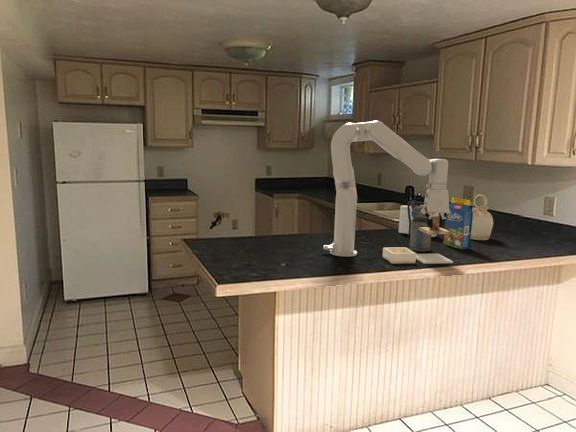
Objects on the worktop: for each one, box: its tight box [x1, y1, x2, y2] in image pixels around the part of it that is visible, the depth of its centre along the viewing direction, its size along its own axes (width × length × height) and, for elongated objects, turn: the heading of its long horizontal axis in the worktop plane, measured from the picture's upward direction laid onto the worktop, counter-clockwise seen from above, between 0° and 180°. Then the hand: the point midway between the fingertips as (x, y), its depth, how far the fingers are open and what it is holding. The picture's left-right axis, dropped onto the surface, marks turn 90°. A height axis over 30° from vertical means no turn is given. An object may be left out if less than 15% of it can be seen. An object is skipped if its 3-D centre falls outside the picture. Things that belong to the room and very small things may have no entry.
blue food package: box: [442, 197, 473, 250], centre depth 238 cm, size 6×12×25 cm, turn 28°
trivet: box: [416, 253, 454, 265], centre depth 212 cm, size 14×14×1 cm
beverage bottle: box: [406, 200, 434, 253], centre depth 228 cm, size 10×13×25 cm
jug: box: [471, 194, 494, 241], centre depth 261 cm, size 15×16×25 cm
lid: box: [418, 215, 451, 235], centre depth 209 cm, size 10×10×7 cm
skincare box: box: [398, 205, 439, 238], centre depth 267 cm, size 21×6×16 cm, turn 58°
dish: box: [382, 246, 417, 264], centre depth 208 cm, size 11×11×4 cm
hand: (434, 226), depth 210 cm, fingers closed on lid, 4 cm apart
